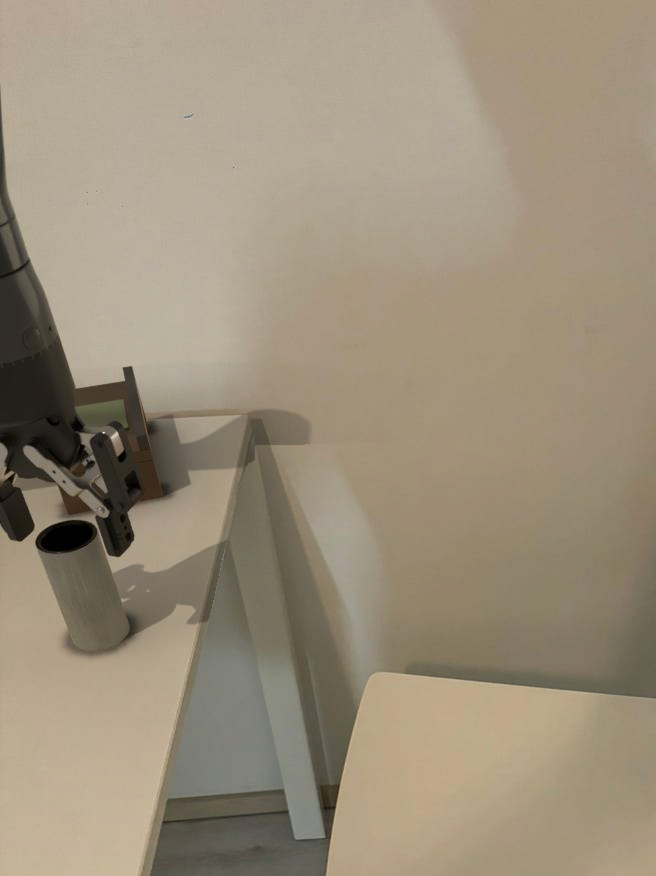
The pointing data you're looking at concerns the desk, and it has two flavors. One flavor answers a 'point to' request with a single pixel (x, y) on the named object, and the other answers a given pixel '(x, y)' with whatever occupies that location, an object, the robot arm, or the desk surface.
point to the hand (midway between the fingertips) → (71, 543)
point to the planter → (83, 584)
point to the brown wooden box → (127, 409)
